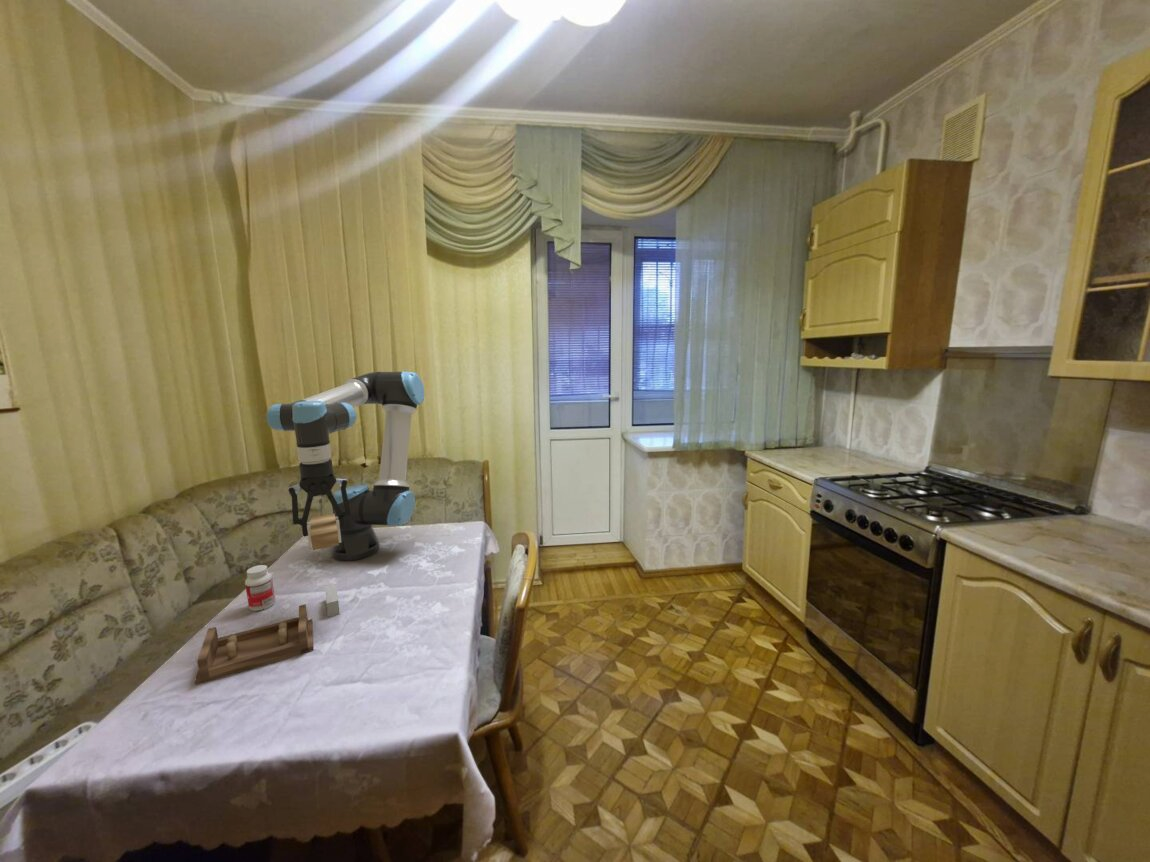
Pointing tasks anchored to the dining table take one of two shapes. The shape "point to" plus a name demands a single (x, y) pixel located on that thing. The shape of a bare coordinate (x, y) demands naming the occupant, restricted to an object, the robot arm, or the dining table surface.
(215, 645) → the peg frame
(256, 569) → the pill bottle
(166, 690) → the dining table surface
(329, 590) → the stand
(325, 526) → the plank
